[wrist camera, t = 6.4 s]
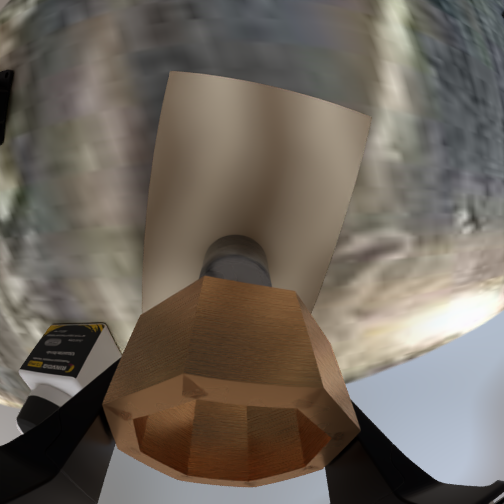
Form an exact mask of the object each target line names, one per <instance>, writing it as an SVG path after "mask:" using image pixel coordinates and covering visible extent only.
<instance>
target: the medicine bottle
mask: <svg viewBox="0 0 504 504" xmlns="http://www.w3.org/2000/svg"><path fill="white" fill-rule="evenodd" d="M121 357H122V355H121V353H120V352H119V350H118V348H117V346H116V344H115V342H114V340H113V338H112V336H111V334H110V332H109V330H108V328H107V326H106V325H105V324H103V323H98V324H63V325H51V326H50V327H49V329H48V330H47V331H46V333H45V334H44V335H43V337H42V338H41V339H40V341H39V342H38V343H37V345H36V346H35V348H34V349H33V350H32V352H31V353H30V355H29V356H28V358H27V359H26V361H25V362H24V363H23V365H22V366H21V368H20V369H19V374H20V376H21V377H22V378H23V380H24V381H25V382H26V384H27V385H28V386H29V388H30V389H31V390H32V391H31V392H30V394H29V396H28V397H27V399H26V401H25V403H24V405H23V407H22V408H21V410H20V412H19V414H18V416H17V418H16V426H17V428H18V430H19V431H20V433H21V434H24V433H25V432H27V431H29V430H30V429H32V428H33V427H35V426H36V425H38V424H39V423H41V422H42V421H43V420H45V419H46V418H47V417H49V416H50V415H51V414H52V413H54V412H55V411H56V410H58V409H59V408H60V407H61V406H62V405H63V404H65V403H66V402H67V401H68V400H69V399H71V398H72V397H73V396H74V395H75V394H77V393H78V392H79V391H80V390H82V389H83V388H84V387H85V386H86V385H88V384H89V383H90V382H91V381H92V380H94V379H95V378H96V377H97V376H98V375H100V374H101V373H102V372H103V371H105V370H106V369H107V368H108V367H109V366H111V365H112V364H113V363H114V362H115V361H117V360H118V359H119V358H121Z"/></svg>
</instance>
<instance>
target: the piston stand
mask: <svg viewBox="0 0 504 504" xmlns="http://www.w3.org/2000/svg"><path fill="white" fill-rule="evenodd" d="M371 120H372V117H370V116H367V115H365V114H362V113H359V112H357V111H354V110H351V109H348V108H345V107H343V106H340V105H337V104H334V103H331V102H327V101H324V100H321V99H318V98H314V97H311V96H308V95H304V94H300V93H297V92H293V91H289V90H285V89H281V88H277V87H273V86H268V85H264V84H259V83H254V82H249V81H244V80H238V79H233V78H227V77H220V76H213V75H206V74H198V73H189V72H178V71H170V74H169V78H168V83H167V87H166V91H165V96H164V101H163V105H162V110H161V115H160V120H159V126H158V131H157V137H156V143H155V149H154V156H153V163H152V170H151V177H150V185H149V194H148V203H147V214H146V225H145V238H144V255H143V280H142V314H143V313H145V312H146V311H148V310H149V309H151V308H153V307H154V306H156V305H157V304H159V303H161V302H162V301H164V300H166V299H167V298H169V297H170V296H172V295H174V294H175V293H177V292H179V291H180V290H182V289H183V288H185V287H187V286H188V285H190V284H192V283H193V282H195V281H196V280H198V279H199V276H200V272H201V268H202V265H203V261H204V257H205V254H206V252H207V250H208V248H209V247H210V245H211V244H212V243H213V242H215V241H216V240H218V239H219V238H221V237H224V236H227V235H243V236H247V237H249V238H251V239H253V240H255V241H256V242H257V243H258V244H259V245H260V246H261V247H262V248H263V250H264V252H265V254H266V257H267V262H268V267H269V273H270V278H271V284H272V287H274V288H280V289H287V290H293V291H295V292H296V293H297V294H298V296H299V297H300V299H301V300H302V302H303V303H304V305H305V306H306V308H307V309H308V311H309V312H310V314H311V313H312V310H313V308H314V305H315V302H316V300H317V297H318V295H319V292H320V289H321V287H322V284H323V281H324V278H325V276H326V273H327V270H328V267H329V264H330V261H331V259H332V256H333V253H334V250H335V247H336V244H337V241H338V238H339V235H340V232H341V229H342V225H343V222H344V219H345V216H346V213H347V209H348V206H349V203H350V199H351V196H352V193H353V189H354V186H355V182H356V179H357V175H358V171H359V168H360V164H361V160H362V157H363V153H364V149H365V145H366V141H367V137H368V133H369V128H370V124H371Z"/></svg>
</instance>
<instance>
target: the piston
mask: <svg viewBox="0 0 504 504" xmlns="http://www.w3.org/2000/svg"><path fill="white" fill-rule="evenodd" d="M203 276H209V277H215V278H221V279H226V280H232V281H238V282H244V283H250V284H256V285H262V286H268V287H272V284H271V278H270V273H269V267H268V262H267V257H266V254H265V252H264V250H263V248H262V247H261V246H260V245H259V244H258V243H257V242H256V241H255V240H253V239H251V238H249V237H247V236H243V235H227V236H224V237H221V238H219V239H218V240H216V241H215V242H213V243H212V244H211V245H210V247H209V248H208V250H207V252H206V254H205V257H204V261H203V265H202V268H201V272H200V276H199V279H200V278H201V277H203Z"/></svg>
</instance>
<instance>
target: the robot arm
mask: <svg viewBox="0 0 504 504" xmlns="http://www.w3.org/2000/svg"><path fill="white" fill-rule="evenodd" d="M12 78H13V70H5V71H1V72H0V145H1V144H2V143H3V139H4V128H5V119H6V111H7V104H8V98H9V93H10V87H11V82H12ZM120 359H121V358H119V359H118V360H117V361H115V362H114V363H113V364H112V365H111V366H109V367H108V368H107V369H106V370H105V371H103V372H102V373H101V374H100V375H98V376H97V377H96V378H95V379H94V380H92V381H91V382H90V383H89V384H88V385H86V386H85V387H84V388H83V389H82V390H80V391H79V392H78V393H77V394H75V395H74V396H73V397H72V398H71V399H69V400H68V401H67V402H66V403H65V404H63V405H62V406H61V407H60V408H59V409H58V410H56V411H55V412H54V413H52V414H51V415H50V416H49V417H47V418H46V419H45V420H43V421H42V422H41V423H39V424H38V425H36V426H35V427H33V428H32V429H30V430H29V431H27V432H25V433H24V434H22V435H20V436H19V437H17V438H16V439H14V440H13V441H11V442H9V443H7V444H5V445H2V446H0V504H97V503H98V500H99V496H100V493H101V489H102V486H103V482H104V479H105V476H106V472H107V469H108V466H109V463H110V459H111V456H112V453H113V450H114V447H115V444H116V442H115V440H114V437H113V435H112V432H111V429H110V426H109V424H108V421H107V418H106V415H105V412H104V409H103V405H102V404H103V401H104V398H105V396H106V393H107V391H108V388H109V386H110V383H111V381H112V378H113V376H114V374H115V371H116V369H117V366H118V364H119V362H120ZM350 400H351V399H350ZM351 402H352V405H353V408H354V411H355V414H356V417H357V420H358V423H359V426H360V429H361V431H360V432H359V433H358V434H357V435H356V437H355V438H354V439H353V440H352V441H351V442H350V443H349V444H348V445H347V446H346V447H345V448H344V449H343V450H342V451H341V452H340V453H339V454H338V455H337V456H336V457H335V458H334V459H333V460H332V461H331V462H330V463H328V464H327V465H326V466H325V470H326V477H327V483H328V490H329V497H330V504H504V497H502V498H501V499H499V500H498V501H496V502H495V503H494V502H493V500H494V499H496V498H497V497H498V496H499V495H501V494H502V493H503V492H504V481H500V480H497V481H496V482H495V483H493V484H491V485H489V486H484V487H478V486H464V485H454V484H446V483H442V482H439V481H437V480H435V479H434V478H432V477H431V476H430V475H428V474H427V473H426V472H424V471H423V470H422V469H421V468H420V467H418V466H417V465H416V464H415V463H413V462H412V461H411V460H410V459H409V458H408V457H406V456H405V455H404V454H403V453H402V452H401V451H400V450H399V449H398V448H397V447H396V446H395V445H394V444H393V443H392V442H391V441H390V440H389V439H388V438H387V437H386V436H385V435H384V434H383V433H382V432H381V431H380V430H379V429H378V428H377V426H376V425H375V424H374V423H373V422H372V421H371V420H370V419H369V418H368V417H367V416H366V415H365V414H364V413H363V412H362V411H361V410H360V409H359V408H358V407H357V406H356V405H355V403H354V402H353V401H352V400H351Z"/></svg>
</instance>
